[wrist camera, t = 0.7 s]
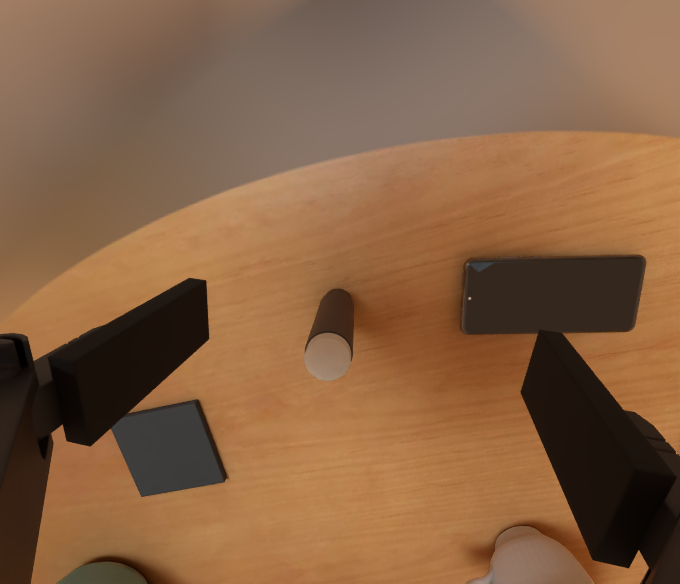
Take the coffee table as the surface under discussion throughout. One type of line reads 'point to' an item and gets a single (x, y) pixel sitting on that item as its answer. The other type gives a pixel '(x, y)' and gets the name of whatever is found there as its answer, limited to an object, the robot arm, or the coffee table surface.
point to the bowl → (104, 574)
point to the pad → (169, 448)
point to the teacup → (532, 560)
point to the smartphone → (551, 294)
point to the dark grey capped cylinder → (331, 337)
